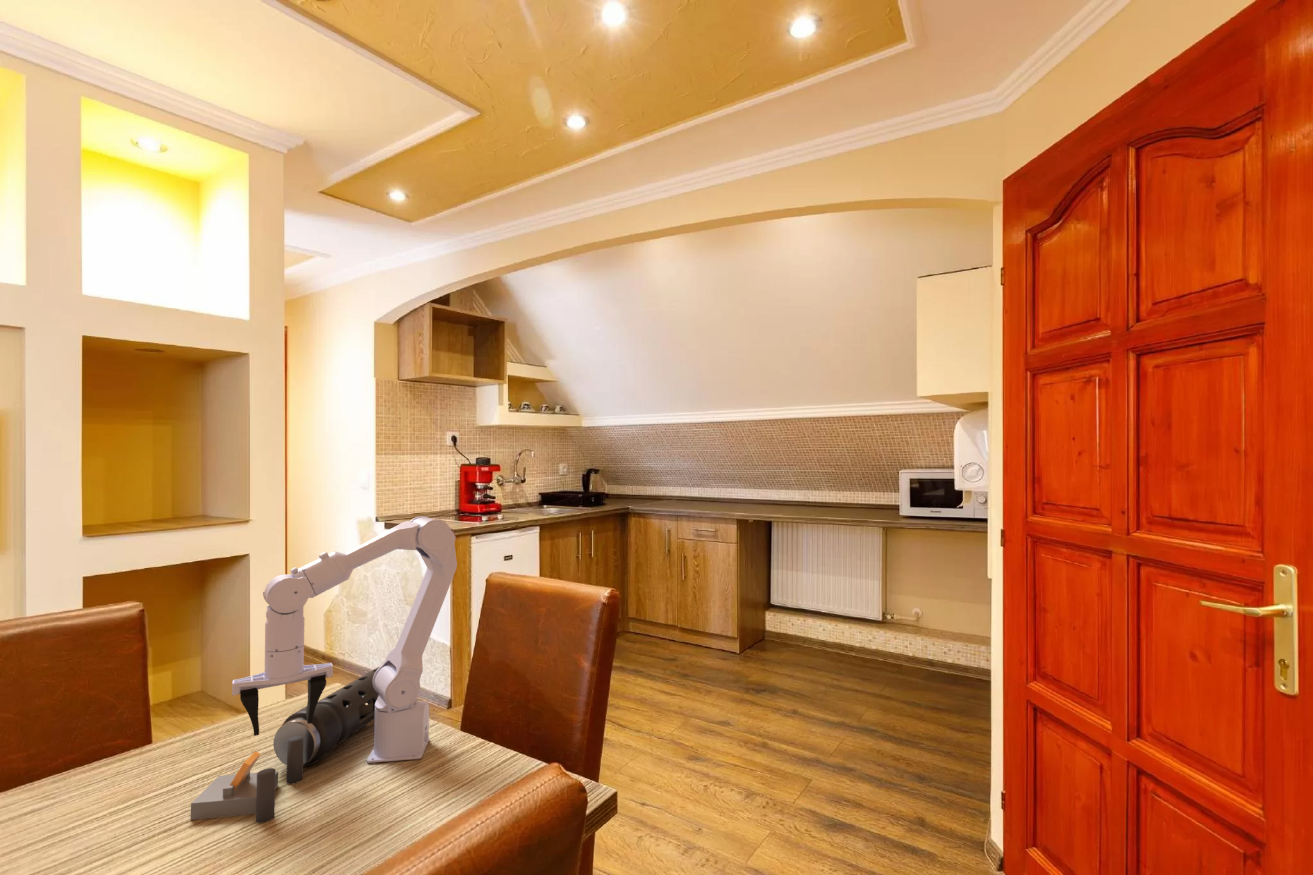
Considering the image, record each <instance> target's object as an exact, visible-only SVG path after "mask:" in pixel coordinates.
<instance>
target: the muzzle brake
mask: <svg viewBox="0 0 1313 875" xmlns="http://www.w3.org/2000/svg"><path fill="white" fill-rule="evenodd" d="M379 667H380V666H377V667H376V668H374V669H372V670H371V671H368V672H367V673H365V674H363V675H362V676H360V677H358V678H357V679H355V680H353V681H351V682H350V683H348V684H346V685H344V686H343V687H341V688H339V689H337V690H336V691H334V692H332V693H331V694H328V695H326V696H325V697H323V698H322V699H319V700H318V703H317V705H316V708H315V712H314V715H313V721H312V723H310V724H308V723H307V705H306V706H304V707H303V708H301V709H300V710H297V711H295V712H294V713H292V714H290V715H289V716H288V717H287V718H286V719H285V720H284V721H283V723H282V725H281V726H279V727H278V729H277V730H276V732H275V735H274V737H273V742H272V743H273V745H272V746H273V750H274V753H275V756H276V757H277V758H278V760H279V761H280V762H281V763H282V764H284V765H285V766H287V740H288V739H289V738H291V737H294V736H303V737H304V741H303V767H305V766H310V765H312V764H313V765H314V764H315V763H317V762H318V761H320V760H321V759H323V758H324V757H325V756H327V755H328V754H330V753H331V752H332V751H333V750H334V749H335V747H337V746H338V745H339V744H341V743H342V742H344V741H345V740H347V739H348V738H349V737H351V736H352V735H354V734H355V733H357V731H359V730H361V729H362V728H363V727H365V726H366V725H368V724H369V723H371V722H372V721H373V720H375V702H376V700H377V698H378V694H379V693H377V692H376V691H375V689H374V687H373V676H374V674H375V672H376V671H377V669H378V668H379Z"/></svg>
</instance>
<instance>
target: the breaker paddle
mask: <svg viewBox="0 0 1313 875" xmlns="http://www.w3.org/2000/svg"><path fill="white" fill-rule="evenodd" d="M261 754H262V753H261V752H258V751H256V750H254V752H253V753H251V755H250V756H248V758H247V759H246V760H245V761H244V762H243V763H242V764H241V767H240V768H239V770H238V771H237V773H236V774H235V775H236V776H235V778H234V779H233V781H232V782H231V784H230V786H231V785H234V790H235V789H236V788H237V787H238V786H239V785H240V784H241V783H242V782H243V781H244V780H245V778H246V777H247V775H248V774H249V772H250V773H251V770H252V769H253V767H254V766H255V764H256V762H257V760H258V759H259V757H260V756H261Z"/></svg>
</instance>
